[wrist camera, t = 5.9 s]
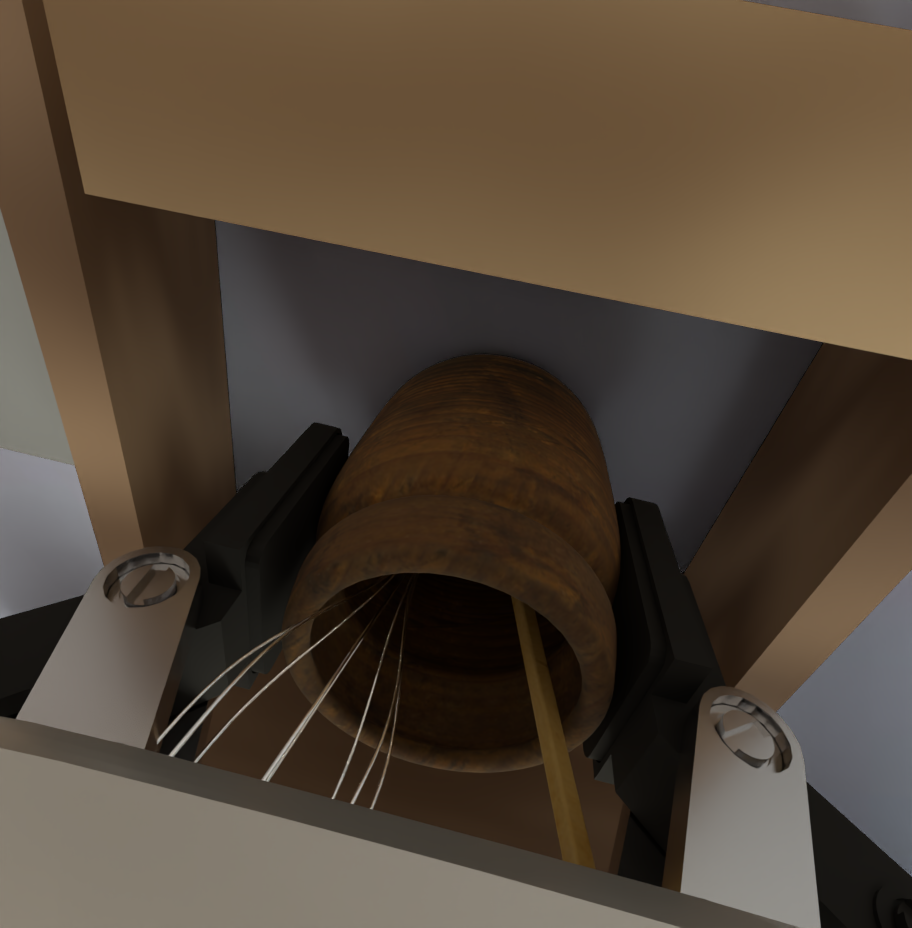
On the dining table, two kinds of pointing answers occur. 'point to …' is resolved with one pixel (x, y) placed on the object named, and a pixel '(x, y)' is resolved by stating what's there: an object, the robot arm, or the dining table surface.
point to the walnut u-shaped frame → (213, 485)
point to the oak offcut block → (527, 142)
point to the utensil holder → (462, 585)
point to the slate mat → (24, 373)
